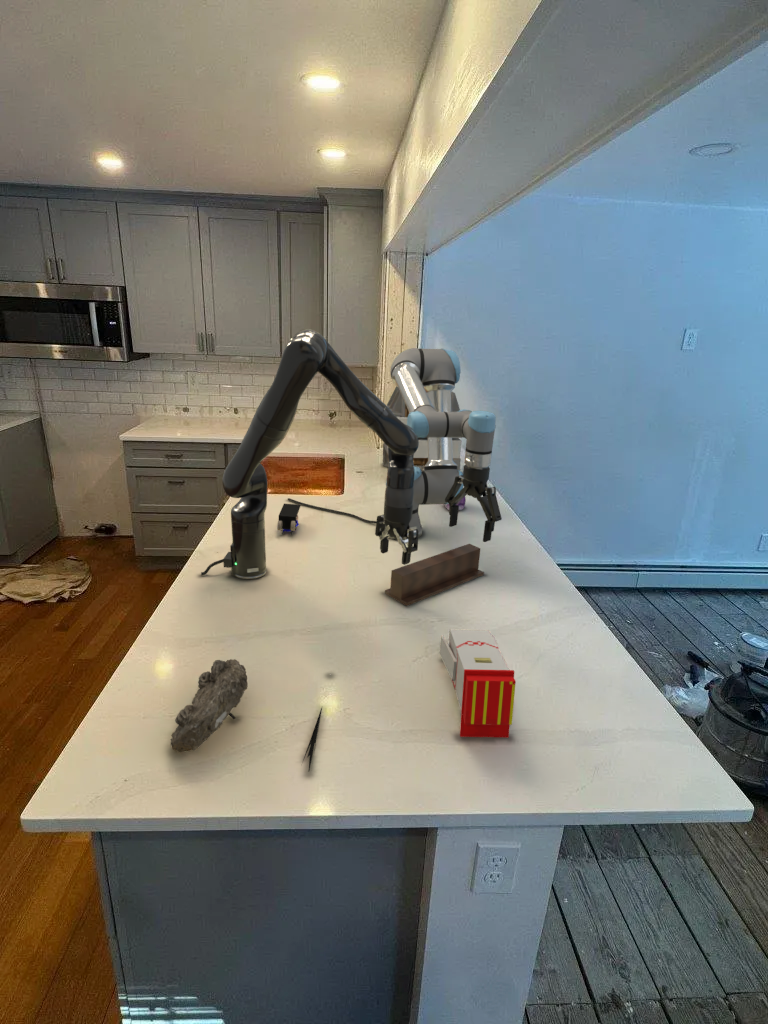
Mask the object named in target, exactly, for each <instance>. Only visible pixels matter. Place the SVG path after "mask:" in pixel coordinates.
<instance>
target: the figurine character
mask: <svg viewBox="0 0 768 1024" xmlns="http://www.w3.org/2000/svg"><path fill="white" fill-rule="evenodd" d="M300 509H301V504H298V503H283V505H282V507H281V509H280V512H279V514H278V521H277V526H276V529H277V531H278V532H281V535H283V536H284V535H285V532H287V533H289V532H290V533H289V535H290V536H293V533H294V532H295V531H297V527H299V526H300V523H299V514H298V513H299V512H300Z"/></svg>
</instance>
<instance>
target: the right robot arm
mask: <svg viewBox="0 0 768 1024" xmlns="http://www.w3.org/2000/svg"><path fill="white" fill-rule="evenodd" d="M390 365H391V366H390V370H389V371H390V378H391V381H392V383H393V384H394V386H395V387H396V386H397V387H399V390H400V392H401V394H402V397H403V399H404V401H405V404H406V406H407V409H408V411H409V415H408V418H407V425H409V426H410V427H411V428H412V429H413V430H414V431H415V433H416V435H417V437H420V438H428V462H427V464H426V465H425V466H423V471H422V469H421V467H420V466H414V471H415V474H414V488H413V489H414V499H413V511H412V519H411V521H410V523H409V526H410V528H411V529H413V530H415V529H418V538H420V537H421V536H422V535H423V525H422V524H421V518H420V515H419V507H420V506H422V505H423V506H424V505H444V506H445V504H449V505H450V507H449V510H448V516H449V523H448V527H449V528H453V527H455V526H457V525H458V517H459V510H458V509H459V506H458V505H456V504H457V503H458V502H459V501H460V500H461V499H462V498H464V497H465V498H466V496H470V497H472V498H474V499H476V501H477V502H479V505H480V506H481V509H482V511H483V513H484V515H485V517H486V519H487V520H485V521H484V527H483V536H482V542H483V543H487V542H491V540H492V533H493V532H494V531H495V526H496V525H495V524H496V523H497V522H500V521H502V518H503V517H502V515H501V514H502V513H501V510H500V508H499V502H498V499H497V488H496V486H488V481H489V478H490V471H491V468H490V467H491V465H492V457H493V456H492V455H493V445H494V440H495V439H494V438H495V431H496V426H497V425H496V421H497V416H496V415H495V413H493V412H491V411H486V410H473V411H472V410H469V409H465V408H464V409H460V410H459V411H458V412H451V392H453V390H454V389H455V388H456V386H455V385H456V384H457V383H459V382H460V379H461V373H462V372H461V362H460V358H459V355H458V354H457V353H456V352H455V351H454V350H452V349H447V348H446V349H445V348H419V347H418V348H417V347H411V348H407V349H405V350H403V351H402V352H400V353H399V354H397V356H396V357H395V358H394V359H393V361H392V363H391V364H390ZM452 437H462V438H464V439H465V440H466V442H465V452H464V461H463V462H464V463H463V464H464V465H463V468H462V469H463V471H461V470H460V471H459V470H457V464H456V463H455V462H453V455H452ZM386 485H387V480H385V486H386ZM287 501H290V502H292V503H294V504H297V505H300V506H305V507H308V508H312V509H316V510H321V511H326V512H329V513H330V512H331V513H334V514H335V513H336V514H340V515H344V516H349V517H352V518H354V519H358V520H359V521H362V522H365V523H367V524H376V521H377V520H369V519H365V518H362V517H360V516H358V515H356V514H353V513H349V512H346V511H340V510H336V509H330V508H326V507H321V506H317V505H312V504H308V503H305V502H301V501H299V500H295V499H292V498H289V497H288V498H287ZM385 528H386V526H385ZM380 531H381V528H380ZM388 539H389V540H395V541H397V540H396V539H395V538H394V537H389V538H388ZM402 540H406V537H404V538H403V539H402Z"/></svg>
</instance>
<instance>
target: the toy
mask: <svg viewBox="0 0 768 1024" xmlns="http://www.w3.org/2000/svg"><path fill="white" fill-rule="evenodd" d="M438 654H439V656H440V658H441V660H442V662H443V665H444V666H445V668H446V671H447V673H448V675H449V677H450V681H451V683H452V685H453V689H454V690H455V695H456V698H457V702H458V705H459V708H460V726H459V737H460V738H509V737H510V728H511V727H510V726H512V725H513V717H514V706H515V705H514V704H515V693H516V684H517V683H516V679H515V670H514V669H510V667H509V666H508V663H507V662H506V660H505V658H504V655H503V654H502V652H501V650H500V648H499V644H498V642H497V638H496V635H495V634H492V632H491V631H490V629H467V628H466V629H465V628H463V629H461V628H460V629H459V628H450V629H449V631H448V641H447V639H446V638H445V636H444V634H443V635H442V634H441V635H440V641H439V651H438Z"/></svg>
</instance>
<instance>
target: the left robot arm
mask: <svg viewBox="0 0 768 1024" xmlns="http://www.w3.org/2000/svg"><path fill="white" fill-rule="evenodd" d="M317 374H320V375H321V376H322V377H323V378H325V379H326V380H327V381H328V382H329V383H330V384H331V386H332V387H333V388H334V389H335V391H336V393H338V395H339V396H340V398H341V399H342V401H343V403H344V405H345V406H346V407H347V409H348V410H349V412H351V413H352V414H353V415H354V417H355V418H357V419H358V420H359V421H360V422H362V424H364V426H366V427H367V428H368V429H369V430H371V431H372V432H373V433H374V434H375V435H377V436H378V438H379V439H380V440H381V441H382V442H384V443H385V444H386V445H387V446H388V461H389V464H388V467H387V471H386V472H387V473H386V481H387V485H386V484H385V491H384V502H383V503H384V504H383V514H379V515H377V516H376V520H375V521H376V523H375V533H374V535H375V536H376V537H378V538H379V540H380V542H379V543H380V544H379V550H380V554H386V553H389V544H390V543H389V541H390V538H389V537H394V538H395V539H396V540H395V539H394V540H395V541H397V542H398V544H399V546H401V549H402V554H401V565H402V566H406V565H409V564H410V562H411V557H412V553H414V552H417V551H418V549H419V537H418V529H415V530H413V529H411V528H410V526H409V523H410V521H411V519H412V511H413V499H414V489H413V488H414V474H415V471H414V465H413V457H414V453H415V452H416V451H417V449H418V446H419V440H418V437H417V435H416V433H415V431H414V430H413V429H412V428H411V427H410V426H409V425H406V424H404V423H403V422H401V421H400V420H399V419H398V418H397V417H396V416H395V415H394V414H393V412H392V411H391V410H390V409H389V407H388V406H387V404H385V402H383V400H381V399H380V398H379V397H378V396H377V395H376V394H375V393H373V392H372V391H371V389H369V388H368V387H367V386H366V385H365V383H364V382H362V380H360V378H359V377H358V376H357V375H356V374H355V373H354V372H353V371H352V370H351V369H350V367H349V365H347V364H346V363H345V362H344V360H343V359H342V358H341V357H340V356H339V354H338V353H337V352H336V350H335V349H334V348H333V347H332V345H330V343H329V342H328V341H327V339H326V338H325V337H324V336H323V335H322V334H321V333H320V332H318V331H316V330H314V329H312V328H311V329H310V328H305V329H301V330H299V331H298V332H296V333H295V334H294V335H293V336H292V338H290V340H289V341H288V342H287V344H286V346H285V347H284V349H283V351H282V355H281V359H280V361H279V364H278V367H277V370H276V373H275V377H274V379H273V381H272V383H271V385H270V387H269V388H268V390H267V391H266V393H265V394H264V396H263V398H262V399H261V401H260V403H259V405H258V406H257V409H256V411H255V412H254V415H253V416H252V419H251V422H250V424H249V426H248V428H247V430H246V432H245V434H244V435H243V438H242V440H241V443H240V444H239V446H238V448H237V450H236V452H235V453H234V455H233V457H232V458H231V459H230V460H229V462H228V464H227V465H226V468H225V469H224V472H223V475H222V480H221V481H222V488H223V491H224V492H225V494H226V496H228V497H230V498H232V499H239V501H237V502H236V504H234V506H232V507H231V510H230V523H231V524H230V525H231V541H232V543H231V544H230V546H229V547H230V551H228V552H227V553H226V554H225V556H224V557H223V558H222V559H219V560H215V561H214V562H212V563H210V564H209V565H208V566H207V567H206V569H205V570H204V571H201V572H200V575H201V576H205V575H207V574H208V573H209V571H210V570H211V569H212V568H213V567H214V566H216V565H218V564H223V568H226V569H227V568H230V569H231V577H236V578H237V579H241V580H254V579H259V578H261V577H263V576H265V575H266V574H267V553H266V551H267V549H266V525H265V524H266V521H265V513H266V510H267V507H268V476H267V471H266V469H265V467H264V466H263V464H262V462H263V460H265V459H266V458H267V457H268V456H269V455H270V454H272V453H273V451H274V450H276V449H277V448H278V447H279V445H280V444H281V443H282V442H283V441H284V439H285V438H286V435H287V434H288V432H289V430H290V428H291V426H292V425H293V422H294V419H295V416H296V414H297V410H298V407H299V402H300V400H301V397H302V396H303V394H304V392H305V391H306V390H307V388H308V386H309V385H310V383H311V382H312V381H313V379H314V377H316V375H317ZM385 526H386V528H385ZM380 528H381V531H380ZM404 537H406V540H402V539H403V538H404Z"/></svg>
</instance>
